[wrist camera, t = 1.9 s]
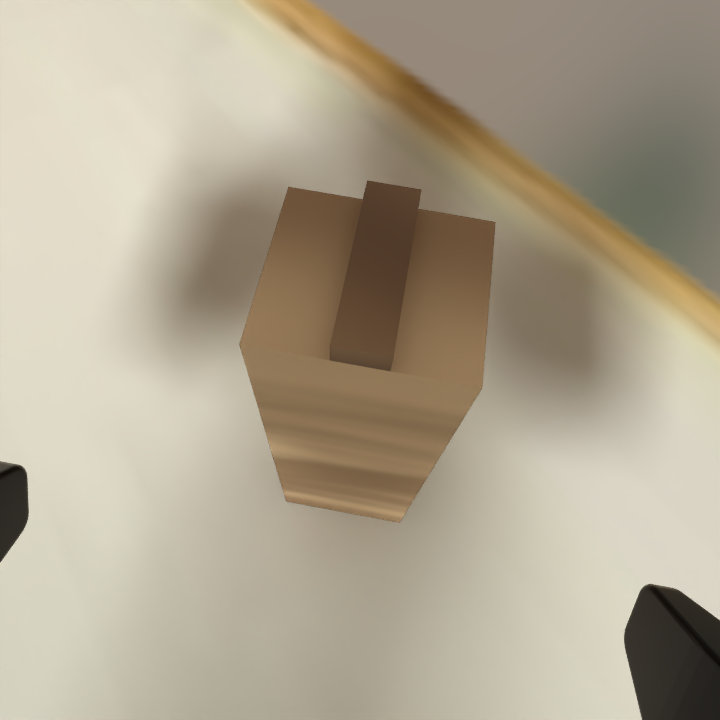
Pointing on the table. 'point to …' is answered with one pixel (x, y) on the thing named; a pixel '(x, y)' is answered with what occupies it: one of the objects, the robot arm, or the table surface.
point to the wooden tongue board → (367, 344)
